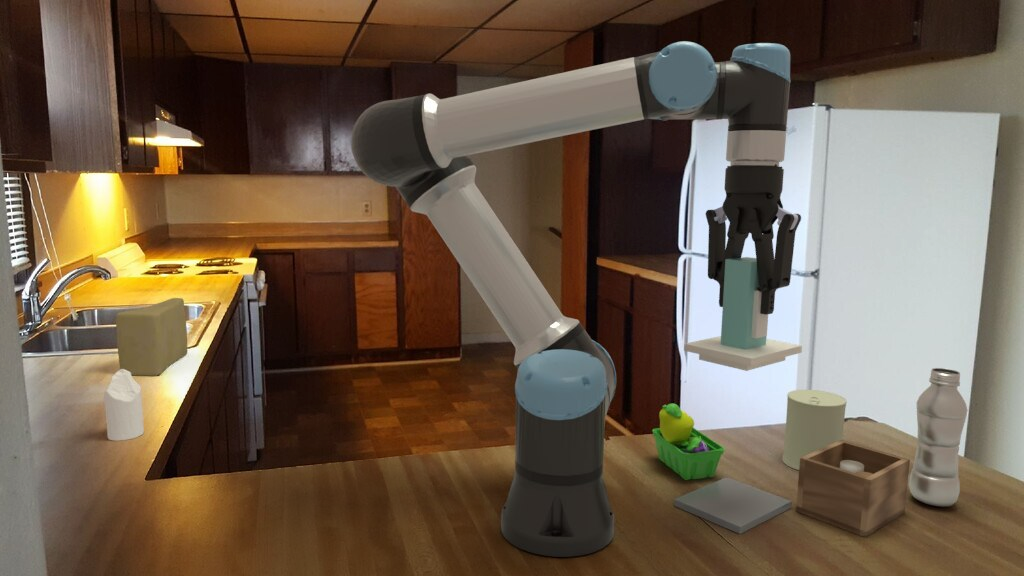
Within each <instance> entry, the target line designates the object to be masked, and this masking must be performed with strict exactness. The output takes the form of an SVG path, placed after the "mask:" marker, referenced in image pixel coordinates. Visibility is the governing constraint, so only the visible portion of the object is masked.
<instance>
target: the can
mask: <svg viewBox="0 0 1024 576" xmlns="http://www.w3.org/2000/svg"><path fill="white" fill-rule="evenodd" d="M786 396H787V404H786V417H785V420H786V421H785V431H784V432H785V435H784V447H783V454H782V458H781V459H782V462H783V464H785V465H786V466H788V467H789V468H790V469H794V470H797V471H799V466H800V458H801V457H803V456H806V455H808V454H810V453H813V452H815V451H817V450H819V449H822V448H824V447H826V446H829V445H831V444H833V443H835V442H838V441H840V440H843V438H844V425H845V415H846V407H847V399H846V398H844V397H843V396H842V395H839V394H836V393H833V392H829V391H825V390H818V389H817V390H816V389H795V390H791V391H789V392H787V395H786ZM843 441H844V440H843Z"/></svg>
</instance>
